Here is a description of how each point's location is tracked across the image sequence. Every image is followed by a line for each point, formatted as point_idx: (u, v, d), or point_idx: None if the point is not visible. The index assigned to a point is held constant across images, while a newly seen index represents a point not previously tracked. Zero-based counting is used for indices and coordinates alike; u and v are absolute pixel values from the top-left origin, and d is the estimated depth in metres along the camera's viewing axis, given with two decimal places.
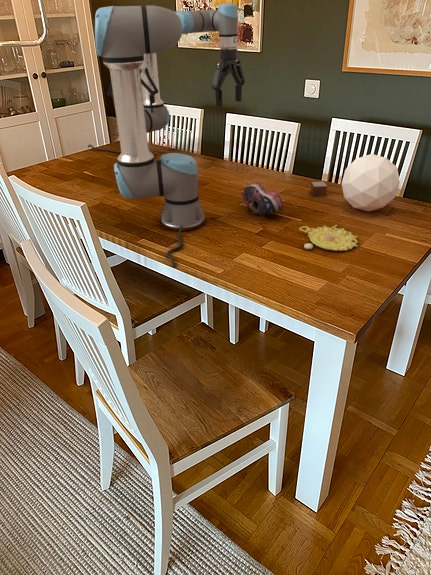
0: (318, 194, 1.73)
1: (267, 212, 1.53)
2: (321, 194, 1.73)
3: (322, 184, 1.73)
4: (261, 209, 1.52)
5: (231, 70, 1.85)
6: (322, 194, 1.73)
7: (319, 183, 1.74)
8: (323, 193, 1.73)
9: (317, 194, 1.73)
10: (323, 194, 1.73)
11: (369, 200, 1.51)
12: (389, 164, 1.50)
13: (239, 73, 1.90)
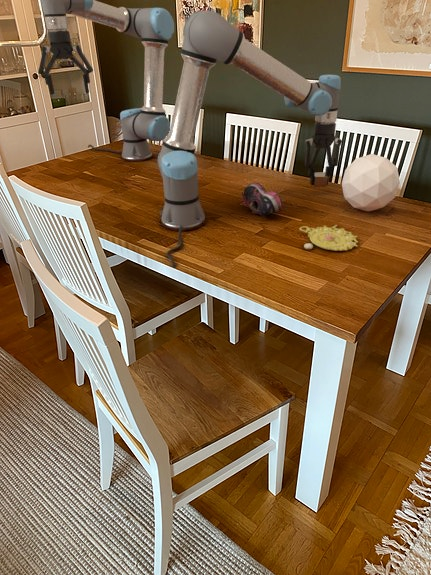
0: (319, 185, 1.71)
1: (267, 212, 1.53)
2: (322, 185, 1.71)
3: (323, 174, 1.71)
4: (261, 209, 1.52)
5: (63, 55, 1.64)
6: (323, 185, 1.71)
7: (320, 174, 1.72)
8: (324, 184, 1.71)
9: (318, 185, 1.71)
10: (324, 185, 1.71)
11: (369, 200, 1.51)
12: (389, 164, 1.50)
13: None
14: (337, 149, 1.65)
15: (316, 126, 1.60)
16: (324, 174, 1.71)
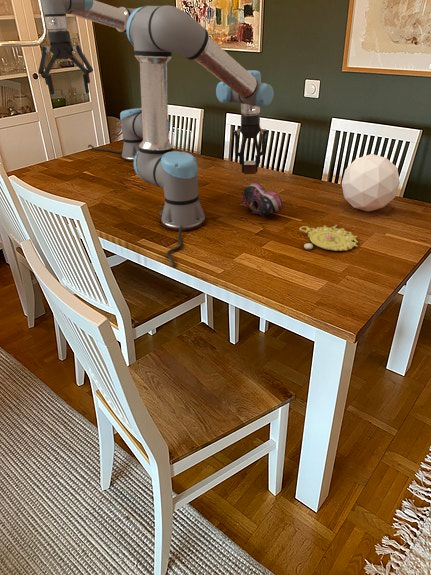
0: (248, 172, 1.85)
1: (267, 212, 1.53)
2: (251, 172, 1.85)
3: (252, 163, 1.85)
4: (261, 209, 1.52)
5: (63, 55, 1.64)
6: (252, 172, 1.85)
7: (250, 162, 1.86)
8: (253, 171, 1.85)
9: (247, 172, 1.85)
10: (253, 172, 1.85)
11: (369, 200, 1.51)
12: (389, 164, 1.50)
13: None
14: (263, 139, 1.79)
15: (241, 117, 1.75)
16: (253, 162, 1.85)
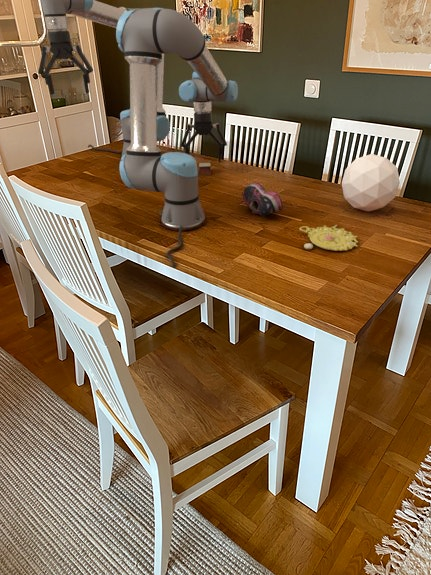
0: (204, 173, 1.98)
1: (267, 212, 1.53)
2: (206, 173, 1.98)
3: (207, 165, 1.98)
4: (261, 209, 1.52)
5: (63, 55, 1.64)
6: (207, 173, 1.98)
7: (205, 164, 1.99)
8: (208, 172, 1.98)
9: (203, 173, 1.98)
10: (208, 173, 1.98)
11: (369, 200, 1.51)
12: (389, 164, 1.50)
13: None
14: (219, 132, 1.90)
15: (194, 115, 1.86)
16: (208, 164, 1.98)
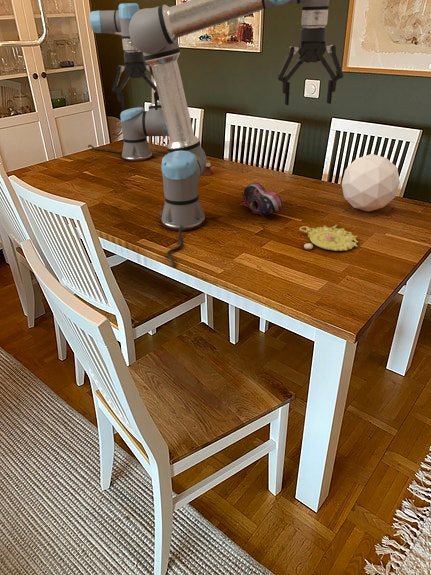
0: (204, 173, 1.98)
1: (267, 212, 1.53)
2: (206, 173, 1.98)
3: (207, 165, 1.98)
4: (261, 209, 1.52)
5: (136, 74, 1.73)
6: (207, 173, 1.98)
7: None
8: (208, 172, 1.98)
9: (203, 173, 1.98)
10: (208, 173, 1.98)
11: (369, 200, 1.51)
12: (389, 164, 1.50)
13: None
14: (334, 58, 1.34)
15: (302, 32, 1.30)
16: (208, 164, 1.98)
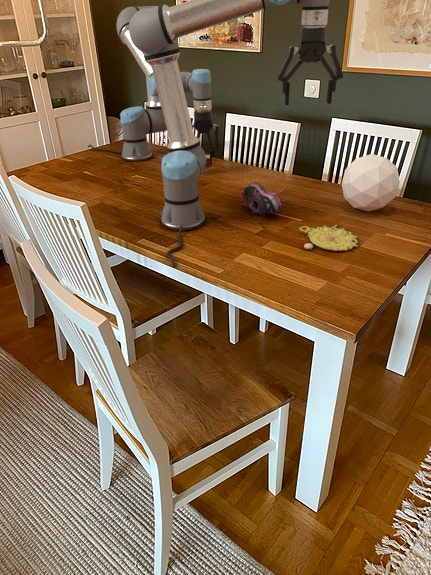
0: None
1: (267, 212, 1.53)
2: (206, 165, 1.96)
3: (206, 156, 1.96)
4: (261, 209, 1.52)
5: (204, 130, 1.89)
6: (207, 165, 1.96)
7: None
8: (208, 164, 1.96)
9: None
10: (207, 165, 1.96)
11: (369, 200, 1.51)
12: (389, 164, 1.50)
13: (215, 137, 1.92)
14: (334, 58, 1.34)
15: (302, 32, 1.30)
16: (208, 156, 1.96)
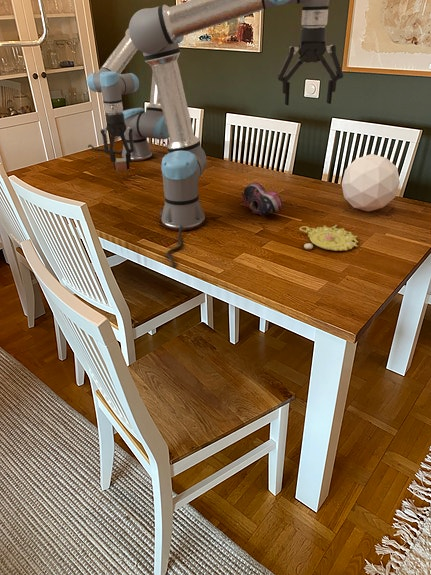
0: (120, 169, 1.93)
1: (267, 212, 1.53)
2: (122, 169, 1.93)
3: (123, 160, 1.93)
4: (261, 209, 1.52)
5: (118, 133, 1.87)
6: (124, 169, 1.93)
7: (121, 159, 1.94)
8: (124, 168, 1.93)
9: (119, 169, 1.93)
10: (124, 169, 1.93)
11: (369, 200, 1.51)
12: (389, 164, 1.50)
13: (129, 140, 1.89)
14: (334, 58, 1.34)
15: (302, 32, 1.30)
16: (124, 159, 1.94)
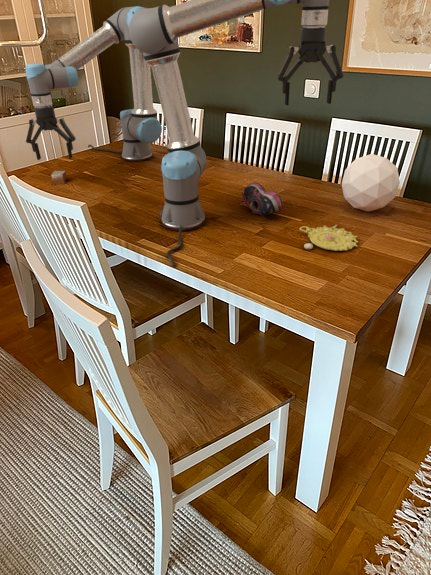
0: (57, 182, 1.94)
1: (267, 212, 1.53)
2: (59, 182, 1.94)
3: (60, 173, 1.94)
4: (261, 209, 1.52)
5: (48, 127, 1.83)
6: (61, 182, 1.94)
7: (59, 172, 1.95)
8: (61, 181, 1.94)
9: (56, 182, 1.94)
10: (61, 182, 1.94)
11: (369, 200, 1.51)
12: (389, 164, 1.50)
13: None
14: (334, 58, 1.34)
15: (302, 32, 1.30)
16: (62, 172, 1.94)
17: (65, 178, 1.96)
